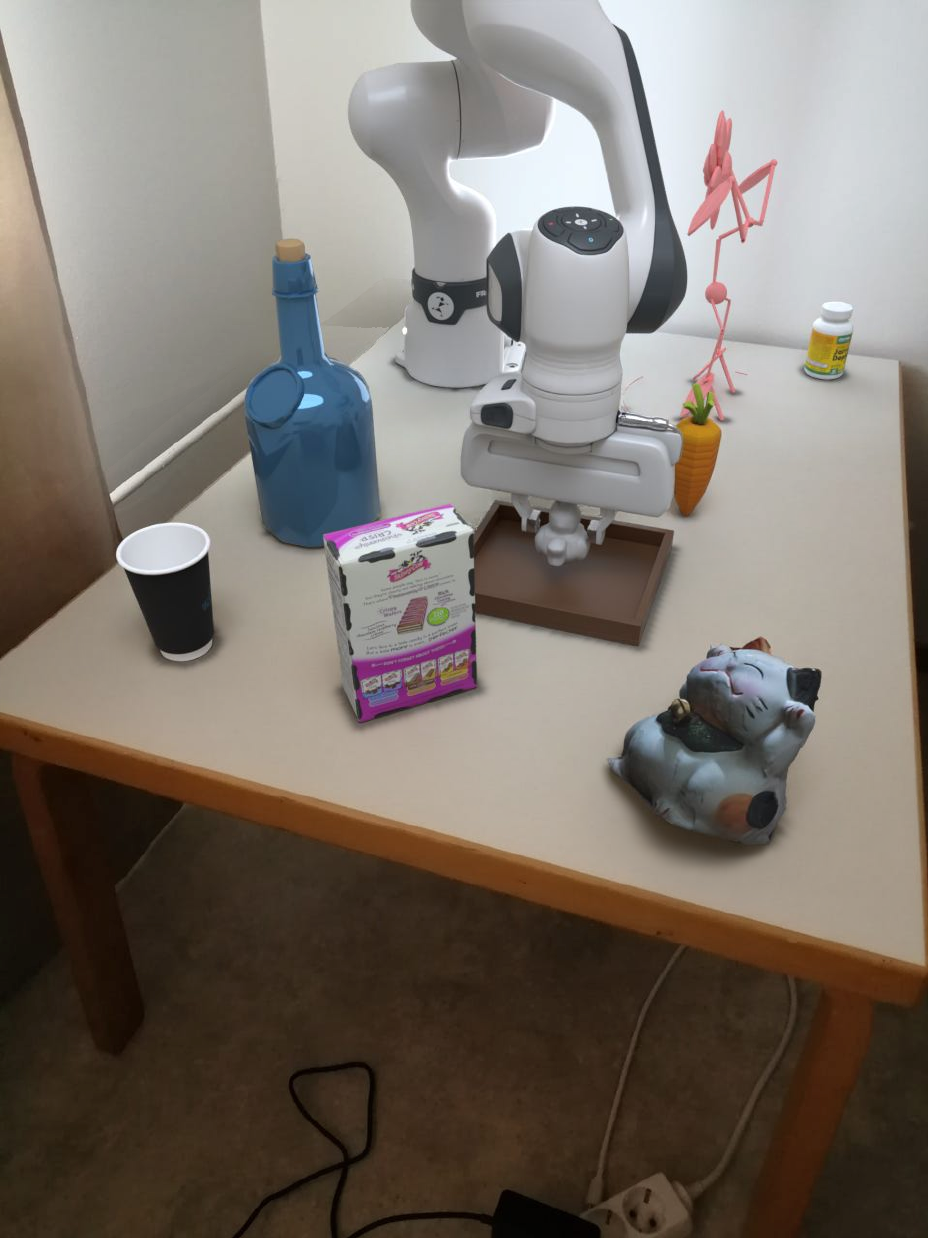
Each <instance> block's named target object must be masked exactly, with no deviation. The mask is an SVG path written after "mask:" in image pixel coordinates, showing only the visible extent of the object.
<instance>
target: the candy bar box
mask: <svg viewBox="0 0 928 1238" xmlns="http://www.w3.org/2000/svg"><path fill="white" fill-rule="evenodd" d="M473 534H474V529H473V528H472V527H471V525H469V524H468V522H467V521H466V520H464V518H463V517H462V516H461V515H460V513H458V512H457V508H456V507H454V506H453V504H451V503H447V504H443V505H439V506H435V507H431V508H427V509H423V510H418V511H415V512H414V511H413V512H410V513H406V514H402V515H398V516H394V517H390V518H386V519H381V520H376V521H375V522H373V523H369V524H365V525H361V526H357V527H353V528H348V529H344V530H340V531H336V532H332V533H328V534H324V535H323V541H324V546H323V548H324V555H325V563H326V569H327V576H328V584H329V591H330V599H331V607H332V614H333V615H332V616H333V622H334V630H335V636H336V642H337V643H336V644H337V652H338V658H339V667H340V673H341V681H342V687H343V691H344V694H345V696H346V698H347V700H348V701H349V703H350V705H351V707H352V710H353V711H354V714H355V716H356V719H357V720H358V722H359V723H364V722H368V721H371V720H374V719H377V718H381V717H384V716H387V715H391V714H394V713H398V712H400V711H403V710H407V709H410V708H414V707H417V706H419V705H423V704H426V703H430V702H433V701H436V700H440V699H442V698H445V697H449V696H451V695H455V694H458V693H461V692H465V691H467V690H468V691H469V690H472V689H475V688H477V687H478V664H477V657H478V655H477V629H476V628H477V625H476V624H477V623H476V613H475V573H474V538H473Z"/></svg>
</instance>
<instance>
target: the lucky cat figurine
mask: <svg viewBox="0 0 928 1238" xmlns="http://www.w3.org/2000/svg"><path fill="white" fill-rule="evenodd" d="M709 647H710V648H709V649H708V651H707V653H706V657H705V659H703V660H702V661H701V662H699V663H697V664H695V665H694V666H693V667H691V669H690V671H689V673H688V674H687V675H686V680H685V682H684V683H683V684H682V685H681V687H680V689H679V692H678V696H679V698H674V700H673V701H671V704H670V705H668V706H667V710H664V711H662V712H660V713H658V714H653V715H649V716H646V717H644V718H642V719H639V720H638V721H637V722H636V723H634V724H633V725H632V726H631V727H630V728H629V729H628V730H627V731H626V733H625V735H624V739H623V746H622V752H621V755H620V756H617V757H616V758H611V757H607V758H606V761H607V763H608V766H609V768H610V770H611V771H612V772H613V773H614V774H615V775H617V776H619V777H620V778H622V779H623V780H624V781H626V782H627V783H628V784H629V785H630V786H631V787H632V788H633V789H634V790H635V792H636V793H637V794H638V795H639V797H640V798H641V799H642V800H643V802H644V804H646V805H647V807H648V808H649V809H650V810H651V811H652V812H654V813H655V814H656V815H658V816H660V817H661V818H663V819H665V820H666V821H667V822H668V823H669V824H671V825H674V826H676V827H679V828H681V829H683V830H687V831H690V832H694V833H697V834H701V835H705V836H710V837H715V838H719V839H724V840H728V841H735V842H737V843H739V844H742V845H743V844H744V845H766V844H770V842H771V840H772V838H773V835H774V832H775V828H776V826H777V824H778V823H779V821H780V819H781V817H782V816H783V814H784V813H785V811H786V809H787V804H788V802H787V801H788V800H787V786H788V785H787V781H788V780H787V779H788V773H789V767H791V764H792V763H793V762H795V760H796V758H797V757H798V754H799V752H800V750H801V749H802V748H803V747H804V746H805V745H806V743H807V741H808V739H809V737H810V734H811V733H812V731H813V729H814V727H815V724H816V716H817V715H815V704H816V702H817V701H819V696H818V694H819V691H820V688H821V684H822V678H823V676H822V675H823V674H822V673H823V672H822V670H821V669H819V668H816V667H815V668H813V667H803V668H800V667H799V668H798V667H795V666H793V665H791V664H789V662H787V661H786V660H785V659H784V658H782V657H781V656H778V655H773V654H772V651H771V647H772V646H771V645H770V643H769V641H768V640H767V639H766V638H764V637H763V636H758V637H757V638H755V639H753V640H750V641H749V642H746V643H745V644H744V645H743V646H742V647H733V646H728V645H726V644H723V643H720V644H719V645H718V646H714V645H713V644H710V645H709Z"/></svg>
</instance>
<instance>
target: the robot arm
mask: <svg viewBox="0 0 928 1238" xmlns="http://www.w3.org/2000/svg"><path fill="white" fill-rule="evenodd" d="M410 13H411V16H412V19H413V21H414V23H415V25H416V28H417V29H418V31H419V32H420V33H421V34H422V36H423V37H424V38H426V40H427V41H428V42H429V43H431V44H432V45H433V46H434V47H436V48H437V49H439V50H441V51H442V52H445V53H446V54H449V55H450V56H452V57H454V58H455V59H450V60H442V61H441V60H440V61H415V62H397V63H393V64H389V65H385V66H381V67H377V68H374V69H371V70H367V71H364V72H362V73H361V74H360V76H359V77H358V78H357V80H356V81H355V83H354V85H353V86H352V88H351V91H350V92H351V93H350V94H349V99H348V105H347V120H348V125H349V129H350V133H351V135H352V137H353V139H354V141H355V143H356V145H357V146H358V147H359V149H360V150H361V152H363V154H364V155H365V156H367V158H368V159H370V160H372V161H373V162H375V163H376V164H377V165H378V166H379V167H381V168H382V169H383V170H384V171H385V172H386V173H387V174H388V175H389V177H390V178H391V179H392V180H393V182H394V183H395V185H396V186H397V189H398V190H399V191H400V194H401V195H402V197H403V200H404V201H405V204H406V207H407V211H408V216H409V219H410V220H409V221H410V227H411V236H412V246H413V260H414V261H413V262H414V267H413V269H412V270H411V280H410V287H411V294H412V298H413V299H412V301H411V302H410V303H408V304H407V306H406V307H405V308H404V318H403V319H404V320H403V321H404V322H403V328H402V333H403V349H402V350H401V351H398V352H397V353H396V355H395V363H396V364H398V365H399V366H401V367H403V368H405V369H406V371H407V373H408V374H409V376H410V377H412V379H414V380H415V381H418V382H420V383H423V384H426V385H430V386H435V387H441V388H458V389H459V388H472V387H479V386H483V387H482V388H481V389H480V390H479V392H478V393H477V394H476V396H475V397H474V398H473V401H472V403H471V405H470V406H469V419H470V421H471V422H470V424H469V425H468V427H467V428H466V430H465V431H464V433H463V434H464V435H463V438H462V443H461V452H460V476H461V477H462V479H463V481H464V482H465V483H466V484H467V485H468V486H469V487H473V488H480V489H485V490H491V491H498V492H503V493H508V494H511V495H510V502H511V503H513V505H514V507H515V508H516V510H517V512H518V513H519V515H520V517H522V531H525V532H531V533H537V530H538V529H539V528H540V523H541V520H540V517H541V511H538V510H533V508H532V506H533V505H532V504H531V502H530V499H529V497H531V498H532V497H533V498H538V499H544V500H550V501H555V500H556V501H562V502H568V503H573V504H577V505H578V506H579V505H581V506H586V507H592V508H596V509H597V508H598V509H600V510H599V511H600V512H599V516H600V518H601V520H600V521H596V520H591V522H590V525H589V526H588V528H587V538H586V542H587V543H593V544H598V545H601V544H602V542H603V540H604V537H605V529H606V528H607V527H608V525H609V524H610V523H611V522H612V521H613V520H615V518H616V516H617V514H618V512H621V513H626V514H627V513H628V514H633V515H638V516H639V515H640V516H644V517H650V518H660V517H661V516H663V515H664V514H665V513H666V512H667V511H668V510H669V509H670V507H671V504H672V501H673V499H674V485H675V464H676V463H677V462H678V461H679V459H680V457H681V455H682V448H683V435H682V433H681V431H680V430H679V429H678V428H677V427H676V424H673V423H671V422H670V421H669V419H667V418H666V417H662V416H647V415H643V414H638V413H632V412H630V413H629V412H628V411H627V412H626V411H620V407H621V406H620V405H621V395H622V391H621V390H622V385H623V375H624V374H623V371H624V370H623V365H622V360H621V348H622V344H623V341H624V338H625V336H626V334H632V335H633V334H639V335H640V334H647V335H649V334H653V333H655V332H657V330H659V329H660V328H661V327H662V326H663V325H665V323H667V322H668V321H669V319H670V318H671V317H672V316H673V315H674V314H675V313H676V311H677V310H678V309H679V307H680V306H681V304H682V303H683V301H684V299H685V298H686V293H687V289H688V265H687V259H686V255H685V251H684V250H685V249H684V247H683V244H682V239H681V237H680V235H679V231H678V230H677V226H676V223H675V221H674V218H673V215H672V212H671V208H670V204H669V200H668V196H667V191H666V186H665V185H666V184H665V181H664V176H663V172H662V167H661V162H660V157H659V151H658V148H657V142H656V137H655V134H654V128H653V124H652V119H651V114H650V109H649V106H648V100H647V96H646V91H645V87H644V83H643V78H642V75H641V71H640V68H639V64H638V60H637V56H636V53H635V50H634V48H633V44H632V42H631V40H630V38H629V35H628V34H627V32H626V31H625V30H623V29H622V28H620V27H619V26H617V25H616V24H614V23H613V22H612V21H611V20H610V19H609V17H608V15H607V14H606V12H605V11H604V9H603V7H602V6H601V3H600V1H599V0H410ZM556 101H558V102H560V103H562V104H564V105H566V106H567V107H570V108H571V109H573V110H575V112H577V113H578V114H580V115H581V116H582V117H584V119H585V120H586V121H587V122H588V123H589V124H590V125H591V127H592V128H593V130H594V132H595V134H596V137H597V140H598V143H599V146H600V147H599V148H600V152H601V156H602V160H603V165H604V170H605V174H606V179H607V183H608V187H609V191H610V197H611V201H612V206H613V210H614V214H615V216H614V215H612V214H610V213H608V212H606V211H603V210H601V209H598V208H593V207H589V206H577V205H575V206H563V207H558V208H553V209H551V210H549V211H547V212H545V213H544V214H542V215H540V216H539V217H538V218H537V219H536V221H535V222H534V223H533V226H532V227H528V228H522V229H521V228H520V229H518V230H515V231H512V232H507V233H506V234H505V235H504V236H502V237H501V238H500V240H498V242H497V217H496V213H495V210H494V208H493V205H492V203H490V201H489V200H488V199H487V198H486V197H485V196H483V195H482V194H481V193H479V192H477V191H476V190H474V189H472V188H470V187H467V186H466V185H463V184H461V183H459V182H457V181H455V180H454V179H452V178H451V175H450V163H452V162H456V161H465V160H467V161H468V160H484V159H502V158H504V159H505V158H509V157H513V156H516V155H520V154H523V153H527V152H531V151H533V150H536V149H539V148H540V147H541V146H543V144H544V143H545V141H546V140H547V139H548V136H549V134H550V132H551V130H552V128H553V126H554V121H555V117H556V108H557V107H556Z"/></svg>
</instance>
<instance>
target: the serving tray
mask: <svg viewBox="0 0 928 1238" xmlns="http://www.w3.org/2000/svg"><path fill="white" fill-rule="evenodd" d="M531 506H532V508H533V510H538V511H541V517H540V520H541V523H540V528H541V527H542V526H543V525H546V524H548V523H549V510H550V508H545V507H539V506H534V505H531ZM601 518H602V517H599V516H598V517H597V516H592V515H586V514H581V519H580V524H582V525H583V526H584V530H585V531H586V532H587V528H588V526H589V525H590V522H591V520H596V521H600V520H601ZM540 528H539V529H540ZM539 529H538V530H539ZM538 530H537V532H538ZM536 534H537V533H531V532H525V531H522V517H520V515H519V513H518V512H517V510H516V508H515V507H514V505H513V503H512V502H511V501H504V500H498V499H495V500H494V501H493V503H492V504H491V506H490V508H489V509H488V511H487V513H486V514H485V515H484V516H483V518H482V519H481V522H480V523H479V524H478V526H477V528H476V529H475V531H473V538H474V573H475V614H479V615H485V616H488V617H489V616H490V617H495V618H499V619H503V620H508V621H513V622H518V623H523V624H527V625H533V626H538V627H543V628H547V629H552V630H557V631H562V632H567V633H571V634H576V635H582V636H586V637H591V638H595V639H600V640H606V641H610V642H615V643H620V644H624V645H629V646H635V647H639V646H640V643H641V640H642V637H643V634H644V631H645V629H646V625H647V622H648V619H649V616H650V613H651V612H652V611H651V610H652V608H653V605H654V602H655V599H656V596H657V593H658V590H659V587H660V584H661V583H662V582H661V581H662V579H663V576H664V572H665V570H666V567H667V564H668V561H669V558H670V555H671V552H672V549H673V541H674V536H675V535H674V534H675V530H673V529H668V528H663V527H662V528H661V527H656V526H649V525H646V524H645V525H644V524H639V523H632V522H627V521H622V520H621V521H620V520H615V519H614V520H613V521H612V522H611V523H610V524H609V525H608V527H607V528H606V529H605V537H604V540H603V542H602V544H601V545H598V544H593V543H590V548H589V551H588V553H587V555H586V557H585V558H584V559H583V560H581V561H579V560H578V561H576V562H573V563H568V564H564V563H563V564H562V565H561V566H553V565H550V564H549V562H548V558H546V557H545V556H544V555H543V554H540V553H538V552H537V550H536V547H535V536H536Z"/></svg>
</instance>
